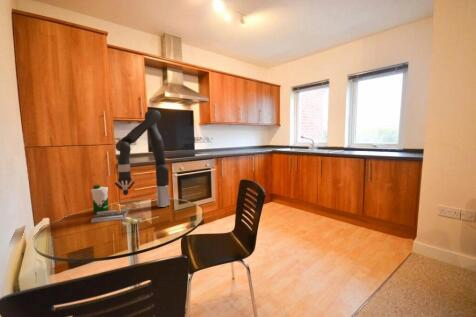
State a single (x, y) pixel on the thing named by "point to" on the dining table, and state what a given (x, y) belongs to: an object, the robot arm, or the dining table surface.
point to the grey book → (109, 215)
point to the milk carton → (100, 199)
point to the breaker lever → (118, 209)
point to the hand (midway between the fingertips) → (125, 194)
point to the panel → (109, 218)
